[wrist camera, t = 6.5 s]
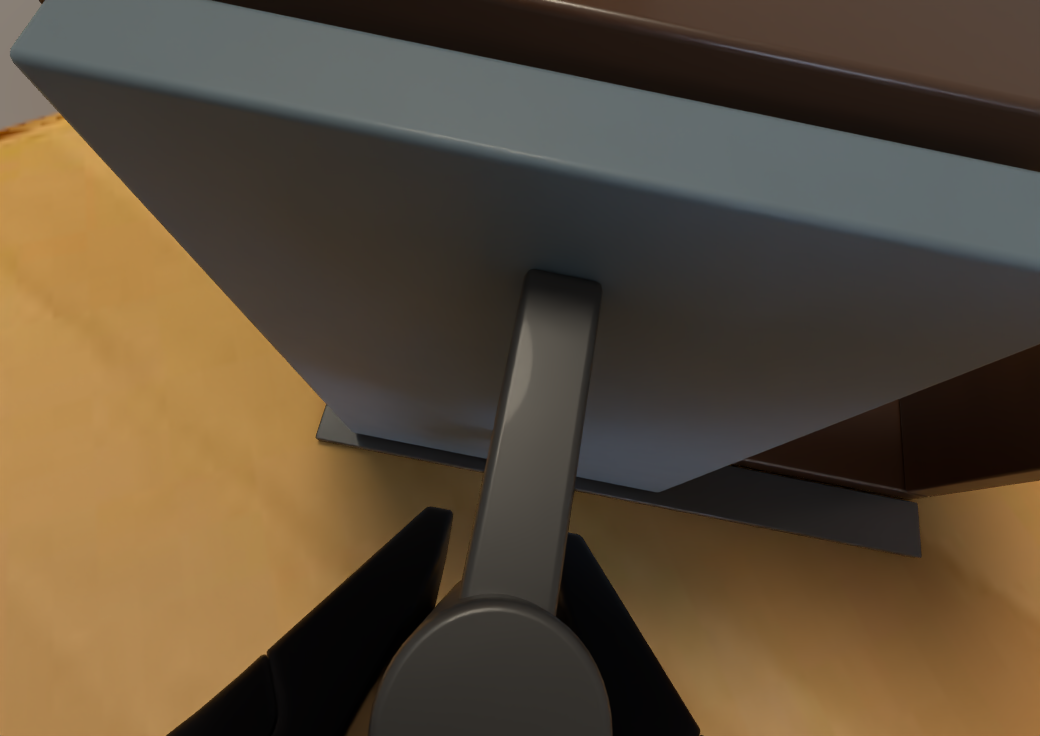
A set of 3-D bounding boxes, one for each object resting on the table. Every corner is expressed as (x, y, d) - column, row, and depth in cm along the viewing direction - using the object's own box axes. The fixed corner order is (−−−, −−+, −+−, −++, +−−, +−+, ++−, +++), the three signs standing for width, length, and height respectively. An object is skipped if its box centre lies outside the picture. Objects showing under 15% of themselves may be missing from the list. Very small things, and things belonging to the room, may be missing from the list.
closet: (914, 558, 16) (2288, 536, 4) (317, 440, 16) (-200, 27, 4) (897, 326, 19) (1680, -113, 7) (387, 222, 19) (223, -431, 6)
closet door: (643, 672, 14) (1424, 1168, 2) (298, 605, 14) (-543, 804, 2) (662, 459, 16) (1147, 189, 4) (360, 399, 16) (62, -36, 4)
